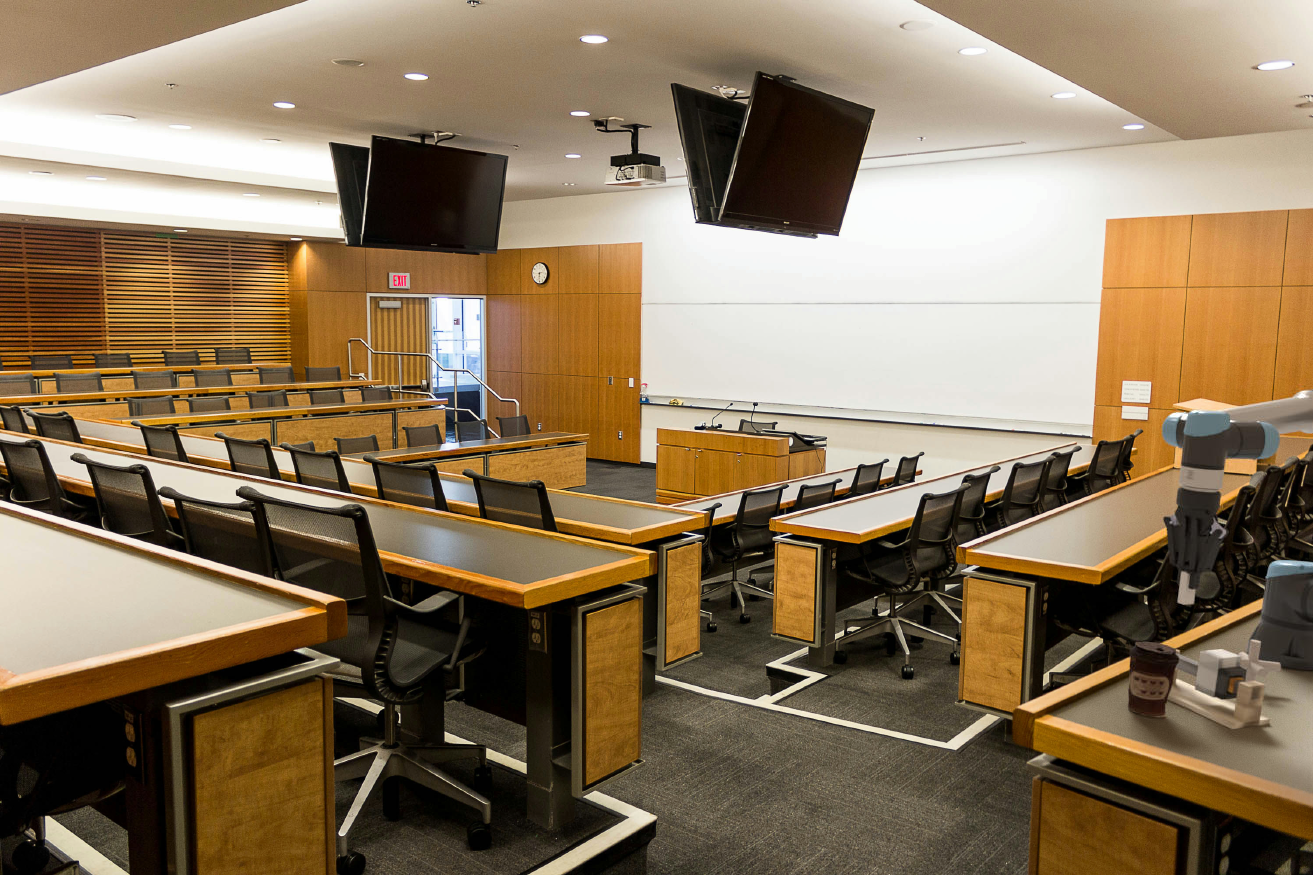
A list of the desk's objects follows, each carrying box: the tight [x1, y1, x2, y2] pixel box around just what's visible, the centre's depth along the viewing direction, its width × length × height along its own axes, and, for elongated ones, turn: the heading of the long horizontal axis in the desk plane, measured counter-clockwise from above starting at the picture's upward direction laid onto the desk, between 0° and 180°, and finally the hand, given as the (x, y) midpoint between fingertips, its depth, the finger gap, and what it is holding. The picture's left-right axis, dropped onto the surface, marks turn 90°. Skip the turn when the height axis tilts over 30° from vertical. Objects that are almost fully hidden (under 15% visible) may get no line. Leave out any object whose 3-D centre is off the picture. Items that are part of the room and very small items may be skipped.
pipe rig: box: [1167, 648, 1271, 730], centre depth 182 cm, size 10×20×8 cm, turn 21°
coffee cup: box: [1127, 641, 1179, 718], centre depth 176 cm, size 9×8×13 cm
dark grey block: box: [1214, 666, 1247, 700], centre depth 177 cm, size 6×2×6 cm, turn 111°
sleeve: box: [1195, 648, 1241, 698], centre depth 179 cm, size 6×4×8 cm, turn 111°
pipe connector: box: [1237, 640, 1282, 682], centre depth 194 cm, size 10×10×10 cm
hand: (1185, 602), depth 187 cm, fingers closed
